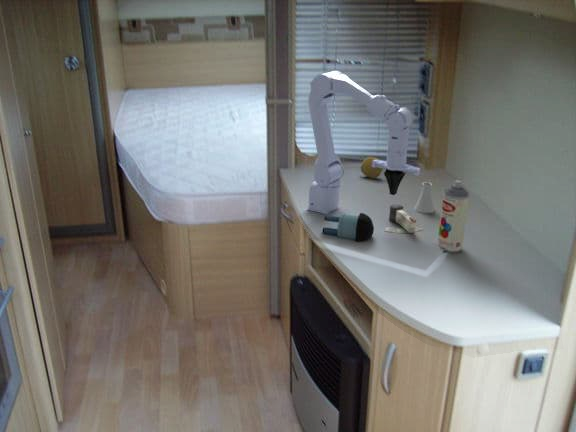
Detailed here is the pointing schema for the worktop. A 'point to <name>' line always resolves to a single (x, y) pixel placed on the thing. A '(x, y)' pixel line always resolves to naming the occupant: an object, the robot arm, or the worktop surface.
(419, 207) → the flask
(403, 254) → the worktop surface
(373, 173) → the potato
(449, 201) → the aerosol can
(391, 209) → the peg
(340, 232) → the toy
